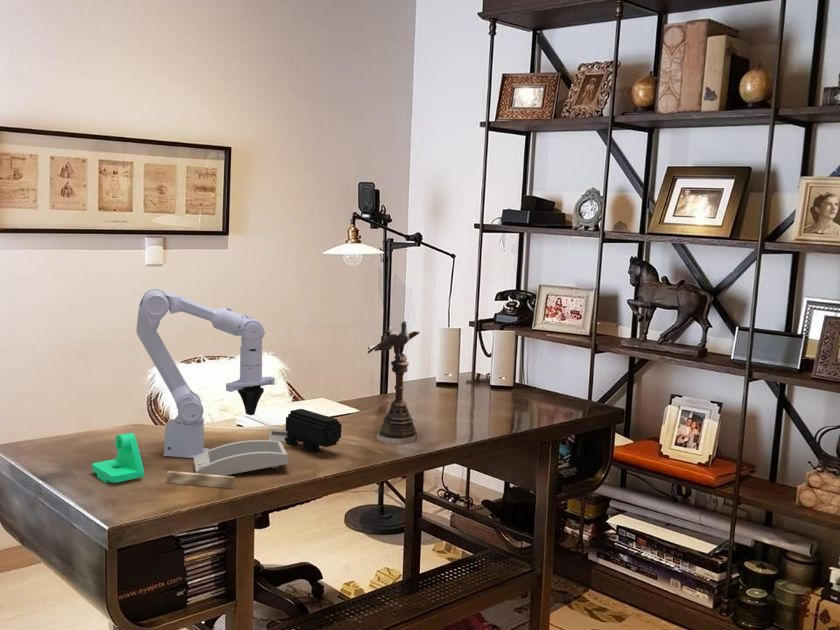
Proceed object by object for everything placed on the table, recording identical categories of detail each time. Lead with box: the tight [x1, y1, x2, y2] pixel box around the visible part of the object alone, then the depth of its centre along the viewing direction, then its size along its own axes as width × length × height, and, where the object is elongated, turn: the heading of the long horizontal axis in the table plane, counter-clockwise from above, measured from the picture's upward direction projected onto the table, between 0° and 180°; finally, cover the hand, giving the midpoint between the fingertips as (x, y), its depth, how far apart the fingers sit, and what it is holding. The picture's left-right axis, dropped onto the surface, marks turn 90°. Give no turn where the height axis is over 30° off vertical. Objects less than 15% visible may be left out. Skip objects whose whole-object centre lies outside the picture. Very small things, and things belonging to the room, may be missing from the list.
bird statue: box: [367, 321, 421, 446], centre depth 242 cm, size 17×13×35 cm
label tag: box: [268, 427, 287, 443], centre depth 235 cm, size 6×1×4 cm, turn 83°
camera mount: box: [91, 432, 145, 483], centre depth 200 cm, size 12×8×10 cm, turn 44°
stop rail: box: [166, 470, 236, 489], centre depth 197 cm, size 16×1×2 cm, turn 82°
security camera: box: [285, 408, 342, 454], centre depth 228 cm, size 7×18×10 cm, turn 48°
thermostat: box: [193, 439, 290, 476], centre depth 210 cm, size 11×22×6 cm, turn 107°
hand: (250, 414), depth 224 cm, fingers closed
